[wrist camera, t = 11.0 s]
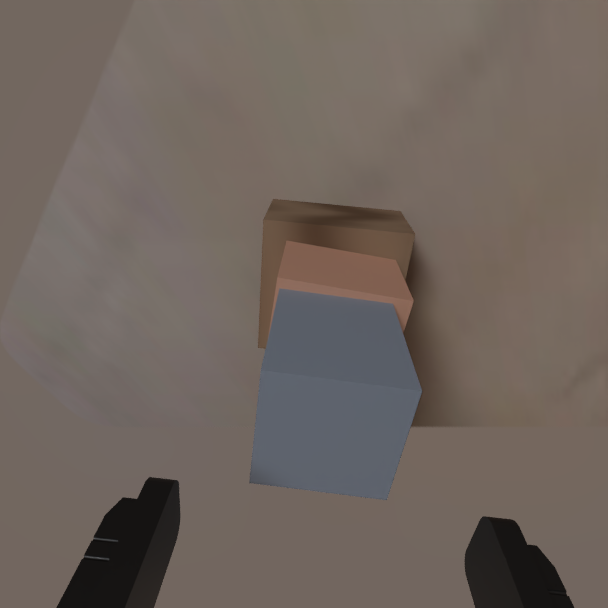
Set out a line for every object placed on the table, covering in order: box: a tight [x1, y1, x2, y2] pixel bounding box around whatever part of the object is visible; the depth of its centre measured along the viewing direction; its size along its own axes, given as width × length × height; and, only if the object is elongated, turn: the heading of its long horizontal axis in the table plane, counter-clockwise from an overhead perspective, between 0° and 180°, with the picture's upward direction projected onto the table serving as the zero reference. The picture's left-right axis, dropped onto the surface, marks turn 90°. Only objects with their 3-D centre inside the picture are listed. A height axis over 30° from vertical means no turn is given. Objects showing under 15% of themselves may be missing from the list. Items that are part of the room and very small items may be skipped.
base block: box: [258, 199, 415, 349], centre depth 26 cm, size 8×8×5 cm
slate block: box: [250, 288, 422, 500], centre depth 17 cm, size 5×5×6 cm
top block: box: [268, 241, 414, 337], centre depth 22 cm, size 6×6×5 cm
